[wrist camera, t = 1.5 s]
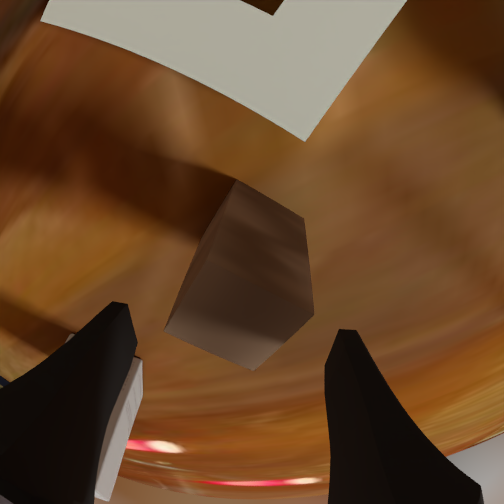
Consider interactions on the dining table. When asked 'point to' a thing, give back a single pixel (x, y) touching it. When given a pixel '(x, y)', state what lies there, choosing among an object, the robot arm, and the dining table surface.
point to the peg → (246, 281)
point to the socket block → (244, 46)
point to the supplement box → (118, 430)
